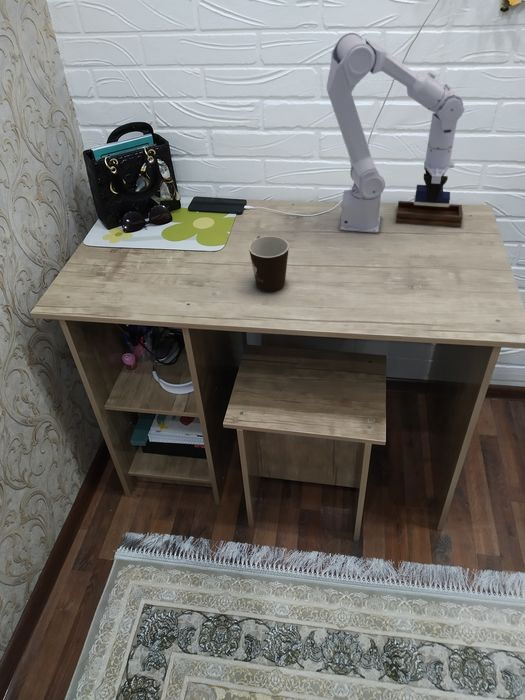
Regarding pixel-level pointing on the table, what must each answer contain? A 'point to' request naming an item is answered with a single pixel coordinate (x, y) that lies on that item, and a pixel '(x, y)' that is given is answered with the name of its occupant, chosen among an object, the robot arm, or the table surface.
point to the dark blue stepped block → (422, 197)
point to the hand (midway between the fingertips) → (431, 197)
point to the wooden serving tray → (429, 214)
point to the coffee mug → (269, 262)
